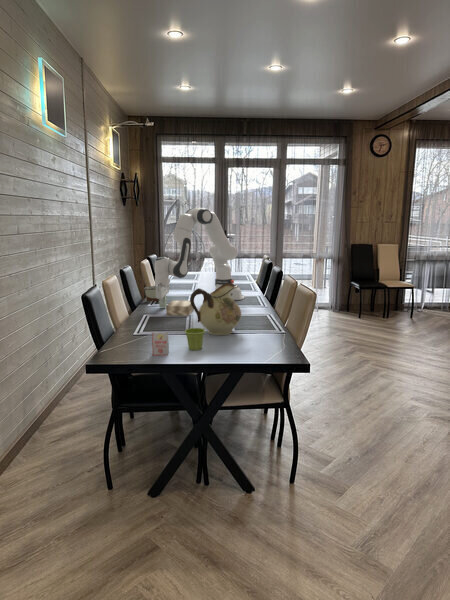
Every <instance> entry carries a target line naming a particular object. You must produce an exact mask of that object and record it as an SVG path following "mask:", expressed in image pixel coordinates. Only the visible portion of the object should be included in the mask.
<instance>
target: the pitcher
mask: <svg viewBox="0 0 450 600" xmlns="http://www.w3.org/2000/svg"><path fill="white" fill-rule="evenodd" d="M238 287H239V288H240V286H239V285H237V284H235V283H233V284H232V283H226V284H223V285H221V286H220V287H219V288H218V289H216V290H215V289H214V291H211V292H207V291H206V290H204V289H203V288H198V287H197V288H196V289H195V290H194V291H193V292H192V293H191V295H190V298H189V301H190V302H191V305H192V307H193V309H194V310H193V311H194V312H195V313H196V316H197V323H200V324H201V325H202V326H203V327H204V329H205V330H207V331H208V333H209V334H210V335H214V336H226V335H230V334H232V332H233V330H234V329H235V328H236V327H237V326H238V324H239V323H240V321H241V318H242V309H241V307H240V306H239V305H238V304H239V303H237V302H236V300H233V299H232V298H231V292H232V291H233V290H234V289H236V288H238ZM198 295H202V296H203V300H202V304H201V305H200V307H199V309H198V307H197V305H196V303H195V298H196V296H198Z"/></svg>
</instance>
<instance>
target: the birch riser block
mask: <svg viewBox="0 0 450 600" xmlns="http://www.w3.org/2000/svg"><path fill="white" fill-rule="evenodd" d="M194 311H195V310H194V309H193V307H192V305H191V302H190V300H171V301H170V302H169V303H167V306H166V307H165V312H166V316H185V317H186V316H187V315H189V316H190V315H191V313H192V312H194ZM187 317H188V316H187Z"/></svg>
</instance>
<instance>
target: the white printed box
mask: <svg viewBox="0 0 450 600" xmlns="http://www.w3.org/2000/svg"><path fill="white" fill-rule="evenodd" d="M169 344H170V343H169V333H168V332H152V337H151V346H152V347H151V348H152V350H151V352H152V356H155V357H156V356H159V357H160V356H169V354H170V350H169V349H170V348H169V347H170V345H169Z"/></svg>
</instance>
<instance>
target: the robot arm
mask: <svg viewBox="0 0 450 600" xmlns="http://www.w3.org/2000/svg"><path fill="white" fill-rule="evenodd" d="M197 225H198V226H199V225H203V226H204V228H205V231H206V233H207V236H208V239H209V240H210V242H211V243H212V245H210V247H209V250H208V251H209V252H208V253H209V254H210V256H211V257H212V260H213V263H214V269H215V279H214V286H215V289H214V291H215V290H216V289H218V288H219V287H220V286H221V285H223V284H226V283H232V284H235V279H234V278H232V267H231V265H230V264H229V263H228V261H232V260H235V259H236V258H237V256H238V249H237V247H235V245H233V244H232V243H231V241H230V240H229V239H228V237H227V236H226V234H225V231H224V229H223V226H222V223H221V221H220V219H219V218H218V216H217V215H216V213H215V212H214V211H210V210H209V208H206V207H196V208H190V209H188V210H186V212H185V213H182V214H180V216H179V218H178V220H177V222H176V225H175V229H174V232H173V239H174V240H175V241H176V242H177V244H178V245H179V246H180V251H179V257H178V261H176V260H175V261H174V260H173V259H169V257H167V256H158V257H157V258H155V260H154V273H155V276H154V282H155V283H154V284H155V285H154V286H157V287H156V299H160V304H163V303H164V302H163V297H164V296H166V297H167V295H168V294H169V292H170V282H171V280H170V276H172V277H176V278H179V279H182V278H183V279H184V278H185V277H186V276H187V275H188V274H189V260H190V256H191V255H190V254H191V247H192V243H191V242H192V241H191V236H192V232H193V229H194V226H197ZM231 298H232V299H233V300H234V301H237V300H238V301H239V300H241V301H242V300H244V299H245V295H244V294H242V290H241V288H240V286H239V287H238V288H236V289H234V290H233V291H232V292H231Z"/></svg>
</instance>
